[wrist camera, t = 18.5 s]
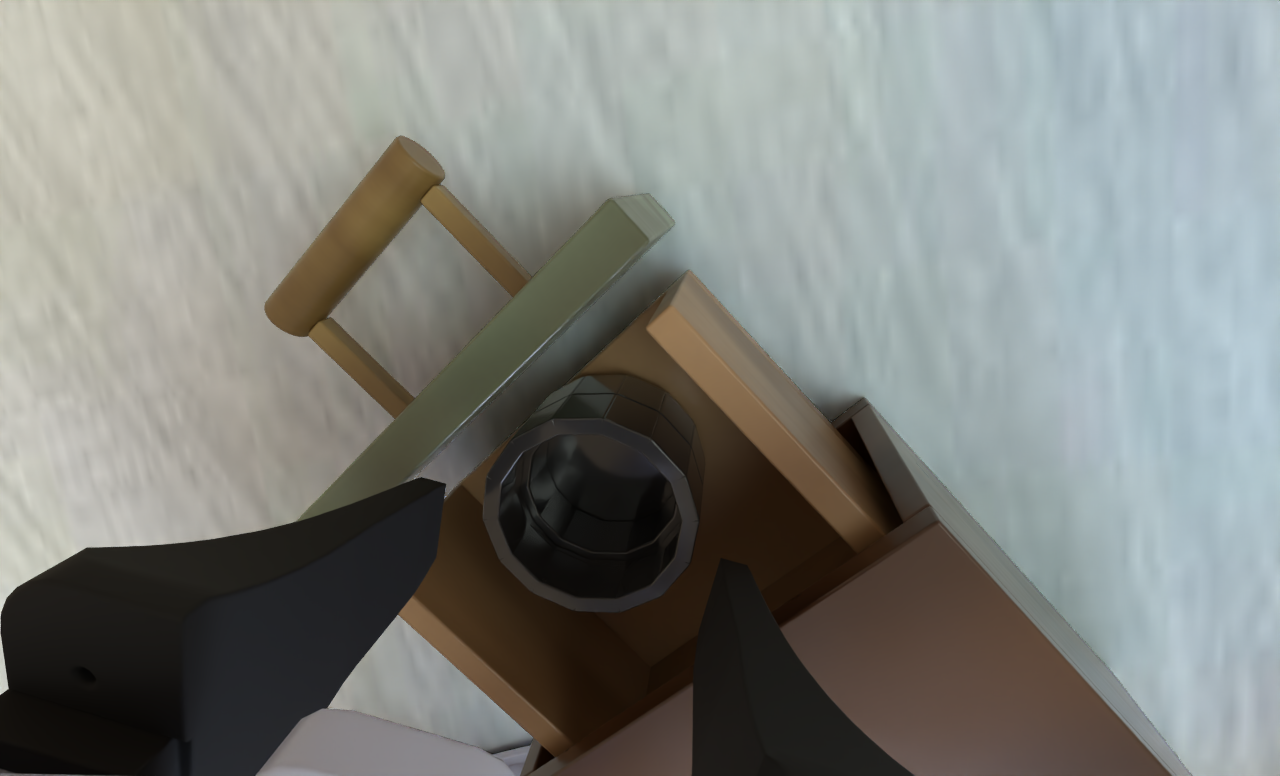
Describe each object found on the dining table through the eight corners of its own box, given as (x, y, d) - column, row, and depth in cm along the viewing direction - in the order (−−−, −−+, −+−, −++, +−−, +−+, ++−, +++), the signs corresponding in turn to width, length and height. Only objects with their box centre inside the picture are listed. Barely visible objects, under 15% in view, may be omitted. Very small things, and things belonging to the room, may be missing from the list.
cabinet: (576, 615, 24) (507, 805, 17) (864, 396, 20) (939, 519, 13) (805, 833, 26) (834, 1092, 19) (1113, 672, 22) (1305, 922, 15)
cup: (497, 417, 20) (440, 475, 16) (651, 337, 19) (629, 378, 15) (585, 555, 21) (552, 641, 17) (737, 490, 20) (738, 567, 16)
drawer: (291, 343, 22) (128, 403, 16) (529, 59, 18) (429, 0, 12) (642, 678, 24) (612, 839, 18) (919, 488, 20) (994, 614, 14)
